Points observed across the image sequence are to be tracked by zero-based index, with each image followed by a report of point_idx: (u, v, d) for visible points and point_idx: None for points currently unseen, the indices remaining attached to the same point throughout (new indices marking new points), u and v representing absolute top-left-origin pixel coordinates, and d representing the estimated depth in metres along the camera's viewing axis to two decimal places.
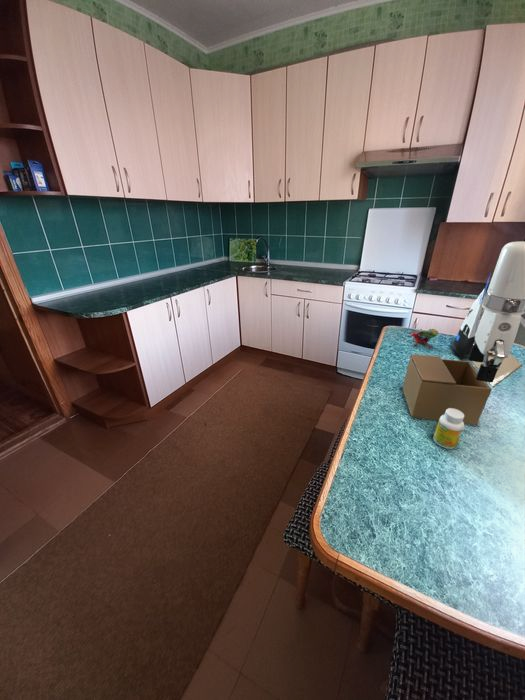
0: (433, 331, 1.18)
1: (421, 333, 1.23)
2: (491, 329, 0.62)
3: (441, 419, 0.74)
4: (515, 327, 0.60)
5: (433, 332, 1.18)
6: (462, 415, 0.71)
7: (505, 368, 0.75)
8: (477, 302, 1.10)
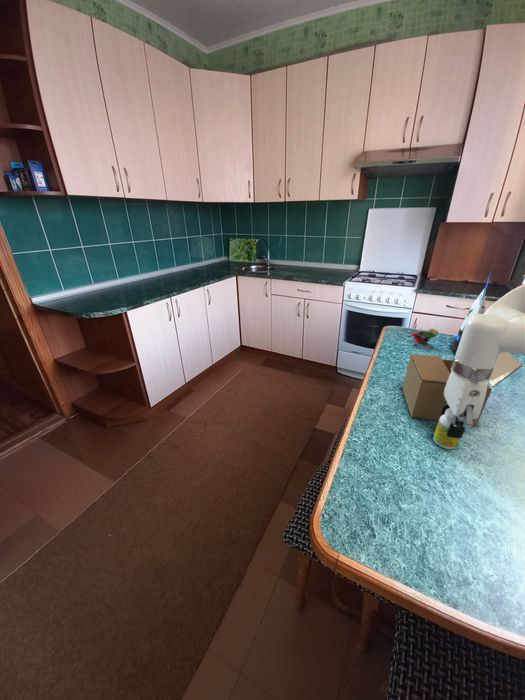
0: (433, 331, 1.18)
1: (421, 333, 1.23)
2: (462, 395, 0.65)
3: (441, 419, 0.74)
4: (483, 394, 0.64)
5: (433, 332, 1.18)
6: None
7: (505, 368, 0.75)
8: (477, 302, 1.10)
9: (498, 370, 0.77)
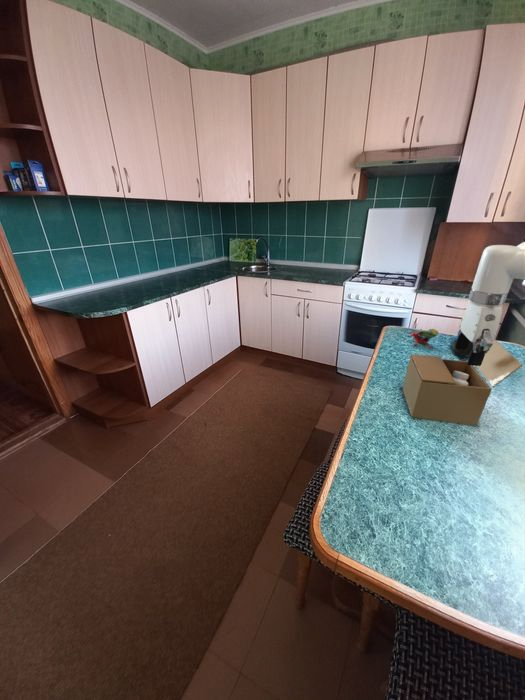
0: (433, 331, 1.18)
1: (421, 333, 1.23)
2: (479, 320, 0.72)
3: None
4: (498, 317, 0.71)
5: (433, 332, 1.18)
6: (467, 374, 0.86)
7: (505, 368, 0.75)
8: None
9: (498, 370, 0.77)
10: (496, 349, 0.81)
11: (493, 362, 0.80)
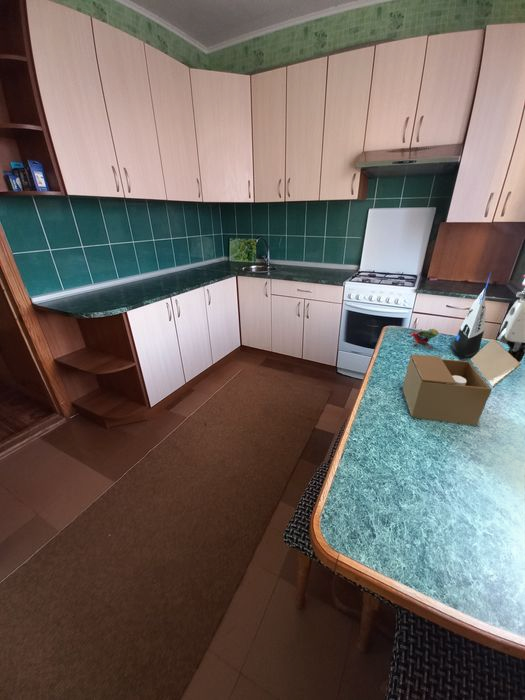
0: (433, 331, 1.18)
1: (421, 333, 1.23)
2: None
3: None
4: (516, 313, 0.72)
5: (433, 332, 1.18)
6: (465, 380, 0.84)
7: (504, 368, 0.75)
8: (477, 302, 1.10)
9: (497, 370, 0.77)
10: (495, 348, 0.81)
11: (492, 362, 0.80)
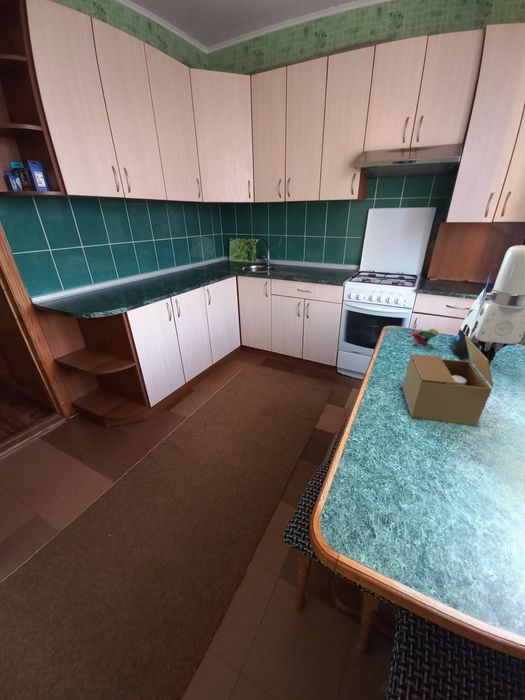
0: (433, 331, 1.18)
1: (421, 333, 1.23)
2: None
3: None
4: (485, 313, 0.73)
5: (433, 332, 1.18)
6: (465, 380, 0.84)
7: (484, 366, 0.76)
8: (477, 302, 1.10)
9: (484, 369, 0.78)
10: (471, 347, 0.83)
11: (478, 361, 0.81)
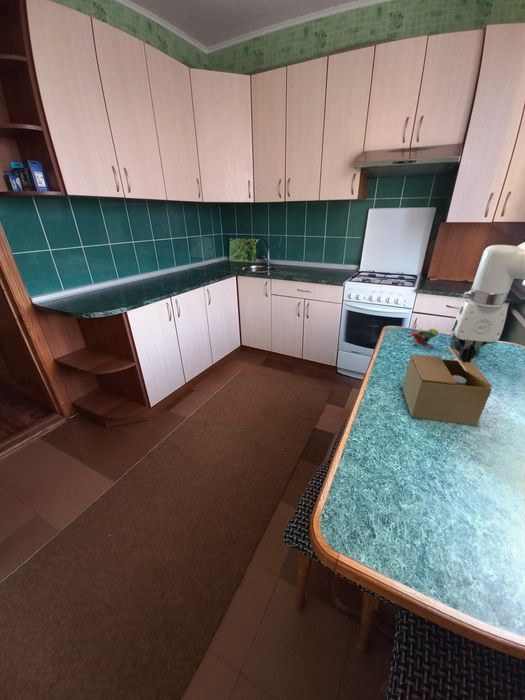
0: (433, 331, 1.18)
1: (421, 333, 1.23)
2: None
3: None
4: (464, 312, 0.74)
5: (433, 332, 1.18)
6: (465, 380, 0.84)
7: None
8: None
9: None
10: None
11: None
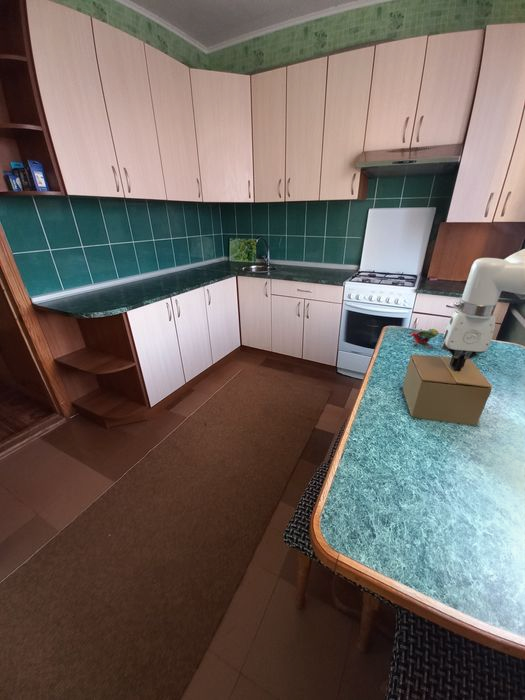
0: (433, 331, 1.18)
1: (421, 333, 1.23)
2: None
3: None
4: (454, 322, 0.76)
5: (433, 332, 1.18)
6: None
7: None
8: None
9: None
10: None
11: None
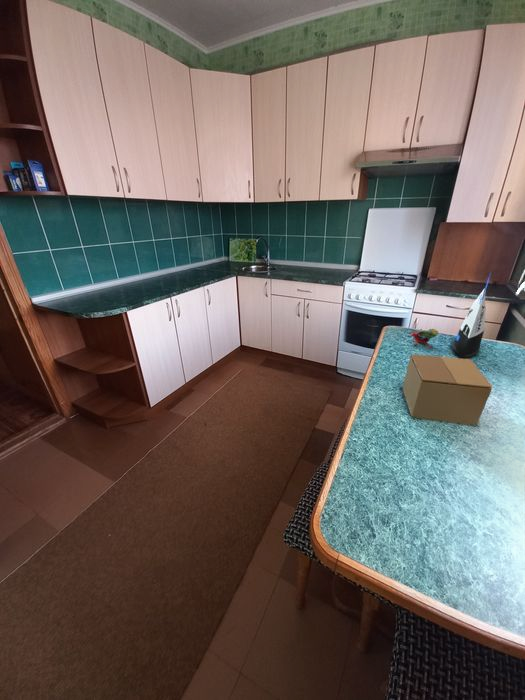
0: (433, 331, 1.18)
1: (421, 333, 1.23)
2: None
3: None
4: None
5: (433, 332, 1.18)
6: None
7: None
8: (477, 302, 1.10)
9: None
10: None
11: None
